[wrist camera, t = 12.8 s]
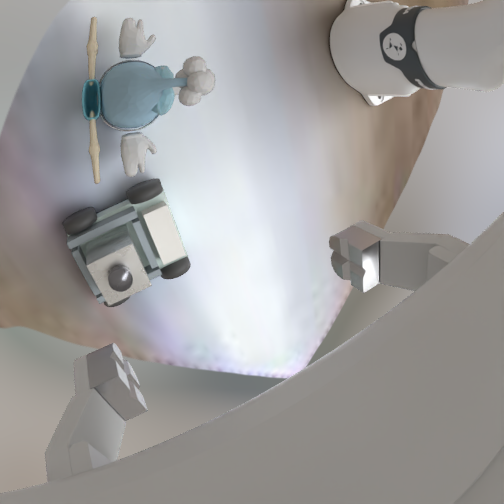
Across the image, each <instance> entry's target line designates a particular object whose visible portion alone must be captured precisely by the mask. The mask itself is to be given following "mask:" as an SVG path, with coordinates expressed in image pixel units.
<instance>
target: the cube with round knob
mask: <svg viewBox="0 0 504 504" xmlns="http://www.w3.org/2000/svg"><path fill="white" fill-rule="evenodd" d="M86 266H87V268H88V270H89V271H90V273H91V275H92V277H93V279H94V281H95V283H96V284H97V286H98V288H99V290H100V291H101V293H102V295H103V297H104V298H105V300H106V302H107V304H108V305H109V306H110V305H112V304H114V303H116V302H118V301H120V300H122V299H124V298H127V297H129V296H131V295H133V294H135V293H137V292H139V291H141V290H143V289H146V288H148V287H150V286H152V285H151V282H150V280H149V277H148V275H147V272H146V270H145V267H144V265H143V262H142V260H141V258H140V255H139V253H138V251H137V249H136V246H135V244H134V242H133V240H132V237H131V235H130V233H129V230H128V228H127V226H126V225H124V226H122V227H119V228H117V229H115V230H113V231H111V232H109V233H107V234H104V235H102V236H100V237H98V238H96V239H94V240H92V241H90V242H88V243H87V249H86Z"/></svg>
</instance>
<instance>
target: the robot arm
mask: <svg viewBox="0 0 504 504" xmlns="http://www.w3.org/2000/svg"><path fill="white" fill-rule="evenodd" d="M330 48H331V54H332V57H333V60H334V63H335V66H336V68H337V70H338V71H339V73H340V75H341V76H342V77H343V79H344V80H345V81H346V82H347V83H348V84H349V85H350V86H351V87H353V88H354V89H356V90H357V91H359V92H360V93H361V94H362V95H363V97H364V98H365V100H366V101H367V102H368V104H369V105H371V106H377V105H379V104H381V103H383V102H385V101H387V100H389V99H391V98H393V97H395V96H399V97H408V96H410V95H411V94H412V93H414V92H416V91H417V90H419V89H420V88H426V89H431V90H435V89H445V88H446V87H452V88H460V89H468V90H475V91H482V92H489V91H492V90H495V89H497V88H499V87H500V86H501V85H502V84H503V83H504V0H483V1H480V2H478V3H474V4H469V5H461V6H453V7H443V8H431V7H428V6H411V7H408V6H404V5H399V4H398V3H396V2H392V1H382V2H375V3H371V2H369V1H366V0H347V2H346V5H345V9H344V11H343V12H342V13H341V14H340V15H339V16H338V17H337V18H336V20H335V21H334V23H333V25H332V29H331V33H330ZM329 247H330V248H331V249H332V250H333V253H332V256H331V263H332V267H333V269H334V271H335V273H336V274H337V275H338V276H339V277H341V278H342V279H344V280H350V281H351V285H352V286H354V287H355V288H357V289H358V290H360V291H361V292H363V293H364V292H366V291H368V290H369V289H371V288H372V287H374V286H375V285H377V284H379V283H380V284H384V285H389V286H393V287H398V288H403V289H407V290H413V291H415V292H413V293H412V294H411V295H410V296H408V297H407V298H406V299H404V300H403V301H402V302H400V303H399V304H398V305H397V306H395V307H394V308H393V309H391V310H390V311H389V312H387V313H386V314H385V315H383V316H382V317H380V318H379V319H378V320H376V321H375V322H374V323H372V324H371V325H369V326H368V327H366V328H365V329H364V330H362V331H361V332H359V333H358V334H357V335H355V336H354V337H352V338H351V339H349V340H348V341H346V342H345V343H343V344H342V345H340V346H339V347H337V348H336V349H334V350H333V351H331V352H330V353H328V354H327V355H325V356H323V357H322V358H320V359H319V360H317V361H316V362H314V363H312V364H311V365H309V366H308V367H306V368H304V369H303V370H301V371H300V372H298V373H296V374H295V375H293V376H291V377H290V378H288V379H286V380H285V381H283V382H281V383H279V384H278V385H276V386H274V387H272V388H271V389H269V390H267V391H265V392H264V393H262V394H260V395H258V396H256V397H255V398H253V399H251V400H249V401H247V402H246V403H243V404H242V405H240V406H238V407H236V408H234V409H232V410H230V411H228V412H226V413H224V414H222V415H220V416H218V417H216V418H214V419H212V420H210V421H208V422H206V423H204V424H202V425H200V426H198V427H196V428H194V429H191V430H189V431H187V432H185V433H183V434H180V435H178V436H176V437H174V438H171V439H169V440H167V441H164V442H162V443H160V444H158V445H155V446H153V447H150V448H148V449H145V450H143V451H140V452H138V453H135V454H133V455H130V456H128V457H125V458H122V459H120V460H117V459H118V454H119V450H120V445H121V441H122V437H123V433H124V429H125V425H126V422H125V421H127V420H129V419H131V418H133V417H136V416H138V415H140V414H142V413H144V412H146V411H148V410H147V408H146V404H145V401H144V398H143V395H142V394H141V393H140V391H139V387H140V385H139V381H138V379H137V376H136V374H135V372H134V370H133V369H132V367H131V365H130V364H129V362H128V361H127V360H124V359H123V358H122V354H121V351H120V350H119V348H118V347H117V345H116V344H114V343H112V344H110V345H107V346H105V347H103V348H101V349H98V350H96V351H94V352H92V353H89V354H88V355H84V356H83V357H80V358H78V359H76V360H75V361H74V378H75V379H74V380H75V394H76V396H74V397H72V398H71V400H70V402H69V404H68V406H67V408H66V410H65V412H64V414H63V416H62V418H61V420H60V422H59V424H58V426H57V428H56V430H55V433H54V434H53V437H52V439H51V441H50V443H49V445H48V447H47V449H46V452H45V459H46V471H47V480H48V482H47V483H44V484H40V485H35V486H31V487H27V488H23V489H19V490H14V491H9V492H4V493H0V504H504V212H503V213H502V214H501V215H500V216H499V217H498V218H497V219H496V220H495V221H494V222H493V223H492V224H491V225H490V226H489V227H488V228H487V229H486V230H485V231H484V232H483V233H482V234H480V235H479V236H478V237H477V238H476V239H475V240H474V241H473V242H472V243H471V244H468V243H466V242H464V241H462V240H460V239H458V238H455V237H453V236H451V235H449V234H429V233H409V232H393V233H390V232H388V231H386V230H384V229H381V228H379V227H377V226H375V225H373V224H370V223H368V222H366V221H358V222H357V223H355V224H353V225H351V226H350V227H348V228H347V229H345V230H343V231H341V232H339V233H337V234H335V235H333V236H331V237H330V240H329Z"/></svg>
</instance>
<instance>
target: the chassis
mask: <svg viewBox="0 0 504 504" xmlns="http://www.w3.org/2000/svg"><path fill="white" fill-rule="evenodd" d="M126 194H127V197H128V200H125V201H123V202H121V203H119V204H117V205H114V206H112V207H110V208H108V209H106V210H103V211H101V212H99V213H97V214H96V212H95V210H94V208H93V207H88V208H85V209H82V210H80V211H78V212H76V213H74V214H72V215H71V216H69V217H68V218H67V219H66V220H65V221H64V222H63V227H64V229H65V231H66V234H67V236H68V238H67V245H68V247H69V249H72V255H73V257H74V259H75V261H76V263H77V264H78V266H79V268H80V270H81V272H82V274H83V276H84V277H85V279H86V281H87V283H88V285H89V286H90V288H91V290H92V292H93V293H94V295H95V296H96V298H97V300H98V302H99V304H101V303H103V302H104V304H105V305H106V306H107V307H114V306H118V305H120V304H122V303H123V302H125V301H126V300H127V299H128V298H129V297H130V296H129V297H127V298H124V299H122V300H120V301H118V302H116V303H114V304H112V305H110V306H109V305H108V304H107V302H106V300H105V298H104V297H103V295H102V293H101V291H100V290H99V288H98V286H97V284H96V283H95V281H94V279H93V277H92V275H91V273H90V271H89V270H88V268H87V266H86V249H87V243H88V242H90V241H92V240H94V239H96V238H98V237H100V236H102V235H104V234H107V233H109V232H111V231H113V230H115V229H117V228H119V227H122V226H124V225H126V226H127V228H128V230H129V233H130V235H131V237H132V240H133V242H134V244H135V246H136V249H137V251H138V253H139V255H140V258H141V260H142V262H143V265H144V267H145V270H146V272H147V275H148V277H149V280H151V279H154V278H156V277H158V276H160V275H161V277H162V278H164V279H173V278H177V277H179V276H181V275H183V274H184V273H186V272H187V271H188V270H189V268H190V261H189V259H188V255H187V253H186V250H185V247H184V245H183V242H182V239H181V237H180V234H179V231H178V229H177V226H176V223H175V220H174V218H173V215H172V212H171V209H170V207H169V204H168V201H167V198H166V195H165V192H164V190H163V188H162V185H161V182H160V180H159V179H151V180H147V181H144V182H141V183H139V184H137V185H135V186H133V187H132V188H130V189H129V190H128V191H127V192H126Z"/></svg>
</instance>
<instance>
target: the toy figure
mask: <svg viewBox="0 0 504 504" xmlns="http://www.w3.org/2000/svg"><path fill="white" fill-rule="evenodd" d="M96 34H97V18H96V17H93V18H91V25H90V35H89V41H88V44H87V55H88V68H89V80H87V81H86V82H85V83H84V86H83V90H82V108H83V114H84V117H85V118H86V119H87V120H88V121H90V147H89V153H90V155H91V160H92V167H93V174H94V181H95V184H98V183H99V182H100V173H99V152H100V146H99V143H98V140H97V131H96V119H97V118H98V117H99V114H100V116H101V118H102V120H103V121H104V122H105V123H106V124H107V125H108V126H110V125H109V124H108V123H107V122H106V121H105V120H104V118H105V119H106V120H107V121H108V122H109V123H111V124H112V125H114V126H117V127H120V128H137V127H140V126H143V125H145V124H147V123H148V122H150V121H151V122H150V123H149V124H147V125H146V126H148V125H150V124H151V123H153V121H154V120H155V119H156V118H157V117H158V115H163V114H166V113H167V112H168V111H169V110H170V108H171V105H172V103H173V101H174V95H179V100H180V102H181V103H182V104H183V105H186V106H192V105H195V104H197V103H198V102H200V99H201V96H202V95H206V94H208V93H210V92H211V91H212V90H213V88H214V84H215V76H214V74H213V72H212V71H211V70H210V69H206V62H205V61H204V60H203V59H202V58H201V57H195V56H193V57H191V58H189V59H186V61H185V62H184V64H183V69H182V70H180V71H179V72H178V73H177V74H176V76H175V78H173V74H172V72H171V71H170V70H169V68H168V67H167V66H158V67H156V68H155V67H154V66H152V65H150V64H149V63H146V62H143V61H139V60H127V61H122V62H120V63H117V64H115V65H113V66H111V67H110V68H109V69H108V70H107V71H109V70H110V69H111V68H112V67H114V66H116V65H118V66H116V67H114V68H112V69H111V70H110V71H109V72H108V73H107V74H106V75H105V73H106V72H107V71H106V72H105V73H104V74H103V76H102V77H101V79H100V82H98V81H97V80H96V79H95V61H96V55H97V53H98V49H97V48H98V44H97V41H96ZM155 39H156V38H155V35H151V36H150V37H149V39H148V40H146V39H145V36H144V31H143V21H142V20H139V21H138V23H137V27H136V23H135V20H134V19H133V18H127V19H125V20H124V21H123V23H122V28H121V33H120V38H119V51H120V57H121V58H126V59H127V58H137V57H141V54H143V53H144V52H145V51H146V50H147V49H148V48H149V47H150V46H151V45H152V44H153V43H154V41H155ZM122 63H123V64H122ZM119 64H120V65H119ZM104 75H105V77H104ZM103 77H104V78H103ZM102 78H103V80H102ZM101 80H102V82H101ZM100 83H101V86H100ZM180 88H181V89H180ZM100 110H101V112H102V114H103V116H104V118H103V117H102V115H101V112H100ZM146 126H144V127H146ZM110 127H112V128H114V129H116V130H120V131H135V130H139V129H142V128H144V127H141V128H139V129H134V130H121V129H118V128H115V127H113V126H110ZM120 146H121V157H122V161H123V165H124V170H125V174H126V175H127V176H128V177H133V176H135V175H136V174H137V171H138V166H139V170H140V172H141V173H144V171H145V155H146V151H147V149H149V150H150V151H151V152H152V154H155V153H156V152H157V151H156V147H155V145H154V144H153V143H152V142H151V141H150V140H149V139H148V138H147V137H146V136H144V135H142V133H140V132H135V133H128V134H125V135H123V136H122V140H121V145H120Z"/></svg>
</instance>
